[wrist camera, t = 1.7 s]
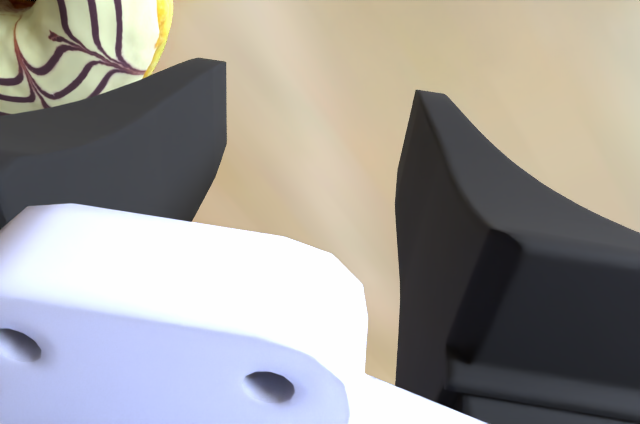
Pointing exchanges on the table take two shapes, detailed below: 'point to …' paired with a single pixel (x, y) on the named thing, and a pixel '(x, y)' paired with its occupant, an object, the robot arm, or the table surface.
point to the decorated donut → (76, 48)
